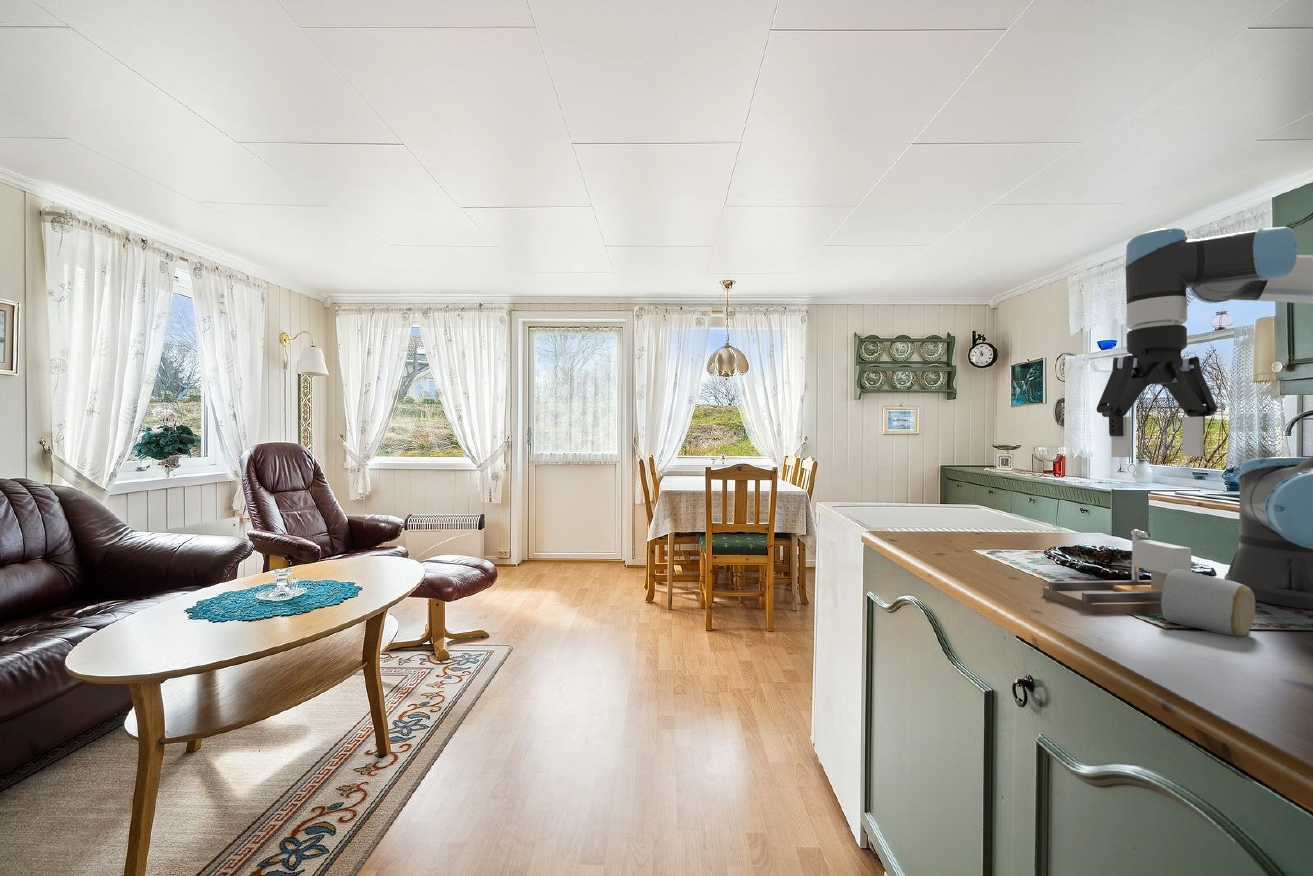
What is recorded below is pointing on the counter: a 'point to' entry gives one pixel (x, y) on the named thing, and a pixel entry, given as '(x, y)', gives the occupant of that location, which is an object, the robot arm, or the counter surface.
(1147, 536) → the keeper hook
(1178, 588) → the ceramic mug
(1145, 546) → the white block on base
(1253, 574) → the robot arm
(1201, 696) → the counter surface
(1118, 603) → the brown piece
